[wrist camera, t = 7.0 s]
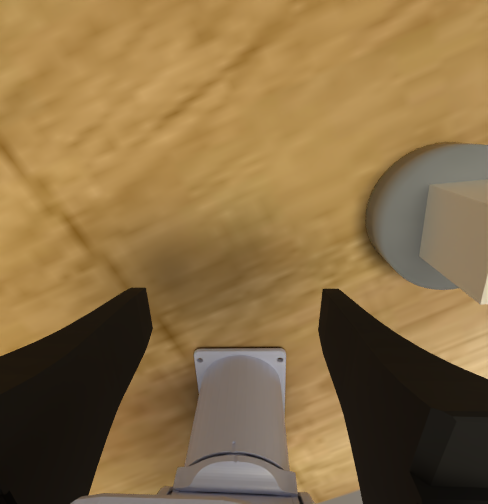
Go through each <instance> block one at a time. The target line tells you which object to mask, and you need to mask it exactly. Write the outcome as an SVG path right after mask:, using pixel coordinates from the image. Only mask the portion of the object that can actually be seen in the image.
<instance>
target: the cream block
mask: <svg viewBox="0 0 488 504" xmlns="http://www.w3.org/2000/svg"><path fill="white" fill-rule="evenodd" d="M419 257H421V258H422V259H423V260H424V261H426V262H427V263H428V264H429V265H431V266H432V267H433V268H435V269H436V270H437V271H438V272H440V273H441V274H442V275H443V276H445V277H446V278H447V279H449V280H450V281H451V282H452V283H454V284H455V285H456V286H457V287H459V288H460V289H461V290H463V291H464V292H465V293H466V294H468V295H469V296H470V297H471V298H473V299H474V300H475V301H477V302H478V303H479V304H488V179H486V180H475V181H464V182H453V183H442V184H430V185H429V191H428V198H427V205H426V212H425V218H424V225H423V232H422V239H421V246H420V253H419Z"/></svg>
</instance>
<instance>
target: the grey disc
mask: <svg viewBox="0 0 488 504" xmlns="http://www.w3.org/2000/svg"><path fill="white" fill-rule="evenodd" d="M486 179H488V145H481V144H469V143H457V142H442V143H434V144H430V145H426V146H423V147H421V148H418V149H416V150H414V151H412V152H410V153H408V154H406V155H405V156H403V157H402V158H400V159H399V160H398V161H396V162H395V163H394V164H393V165H392V166H391V167H390V168H389V169H388V170H387V171H386V172H385V173H384V174H383V175H382V177H381V178H380V179H379V181H378V182H377V184H376V185H375V187H374V189H373V191H372V193H371V195H370V198H369V201H368V204H367V209H366V219H365V221H366V230H367V234H368V237H369V239H370V242H371V243H372V245H373V247H374V248H375V249H376V251H377V252H378V253H379V254H380V255H381V256H382V257H383V258H384V259H385V260H386V261H387V262H388V263H389V264H390V265H391V266H392V267H393V268H394V270H395V271H396V272H397V273H399V274H400V275H401V276H402V277H403V278H404V279H406V280H408V281H409V282H411V283H413V284H415V285H418V286H421V287H424V288H429V289H438V290H447V289H456V288H459V287H457V286H456V285H455V284H454V283H452V282H451V281H450V280H449V279H447V278H446V277H445V276H443V275H442V274H441V273H440V272H438V271H437V270H436V269H435V268H433V267H432V266H431V265H429V264H428V263H427V262H426V261H424V260H423V259H422V258H421V257H419V253H420V246H421V239H422V232H423V225H424V218H425V212H426V205H427V198H428V191H429V185H430V184H442V183H453V182H464V181H475V180H486Z"/></svg>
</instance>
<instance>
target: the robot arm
mask: <svg viewBox="0 0 488 504" xmlns="http://www.w3.org/2000/svg"><path fill="white" fill-rule="evenodd" d="M152 329H153V327H152V321H151V315H150V309H149V303H148V298H147V292H146V288H130V289H128V290H126V291H124V292H123V293H121V294H119V295H118V296H116V297H114V298H113V299H111V300H110V301H108V302H107V303H105V304H103V305H102V306H100V307H99V308H97V309H95V310H94V311H92V312H91V313H89V314H87V315H85V316H84V317H82V318H80V319H78V320H77V321H75V322H73V323H72V324H70V325H68V326H66V327H64V328H63V329H61V330H59V331H57V332H55V333H53V334H51V335H49V336H47V337H45V338H43V339H41V340H38V341H36V342H34V343H32V344H29V345H27V346H25V347H22V348H20V349H17V350H15V351H13V352H10V353H8V354H5V355H3V356H0V504H316V503H315V502H314V501H313V500H312V498H311V496H310V495H309V494H308V493H307V492H297V483H296V475H295V472H292V471H290V469H289V459H288V449H287V439H286V430H285V420H284V418H285V377H286V352H285V350H284V349H282V348H227V349H197V350H195V352H194V360H195V368H196V376H197V383H198V391H199V397H198V402H197V407H196V412H195V417H194V422H193V427H192V432H191V436H190V441H189V446H188V451H187V456H186V461H185V466H184V467H178V468H177V472H176V476H175V481H174V485H173V487H169V486H164V487H162V488H161V489H160V490H159V492H158V493H157V495H144V494H110V493H103V494H96V495H89V496H88V494H89V491H90V488H91V485H92V482H93V478H94V475H95V472H96V469H97V466H98V463H99V460H100V457H101V454H102V451H103V448H104V445H105V442H106V439H107V436H108V434H109V431H110V428H111V426H112V423H113V420H114V417H115V415H116V412H117V410H118V407H119V405H120V403H121V400H122V398H123V396H124V394H125V392H126V390H127V388H128V386H129V384H130V382H131V380H132V378H133V376H134V374H135V372H136V370H137V368H138V366H139V363H140V361H141V359H142V357H143V355H144V353H145V351H146V348H147V345H148V342H149V339H150V336H151V333H152ZM318 331H319V337H320V342H321V347H322V351H323V355H324V358H325V361H326V364H327V367H328V370H329V372H330V375H331V378H332V381H333V384H334V387H335V390H336V393H337V396H338V398H339V401H340V404H341V408H342V411H343V414H344V418H345V423H346V427H347V431H348V435H349V440H350V444H351V448H352V453H353V458H354V462H355V467H356V471H357V476H358V481H359V486H360V491H361V496H362V501H363V504H488V379H486V378H484V377H481V376H479V375H476V374H474V373H472V372H469V371H467V370H464V369H462V368H460V367H458V366H456V365H453V364H451V363H449V362H447V361H445V360H443V359H441V358H439V357H437V356H435V355H433V354H431V353H429V352H427V351H426V350H424V349H422V348H420V347H418V346H417V345H415V344H413V343H412V342H410V341H408V340H407V339H405V338H403V337H402V336H400V335H398V334H397V333H395V332H394V331H392V330H391V329H390V328H388V327H387V326H385V325H384V324H382V323H381V322H380V321H378V320H377V319H375V318H374V317H373V316H372V315H370V314H369V313H368V312H366V311H365V310H364V309H363V308H361V307H360V306H359V305H358V304H356V303H355V302H354V301H353V300H352V299H350V298H349V297H348V296H347V295H346V294H344V293H343V292H342V291H340V290H339V289H323V292H322V301H321V310H320V319H319V328H318ZM198 358H201V359H198ZM278 358H282V359H278Z"/></svg>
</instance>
